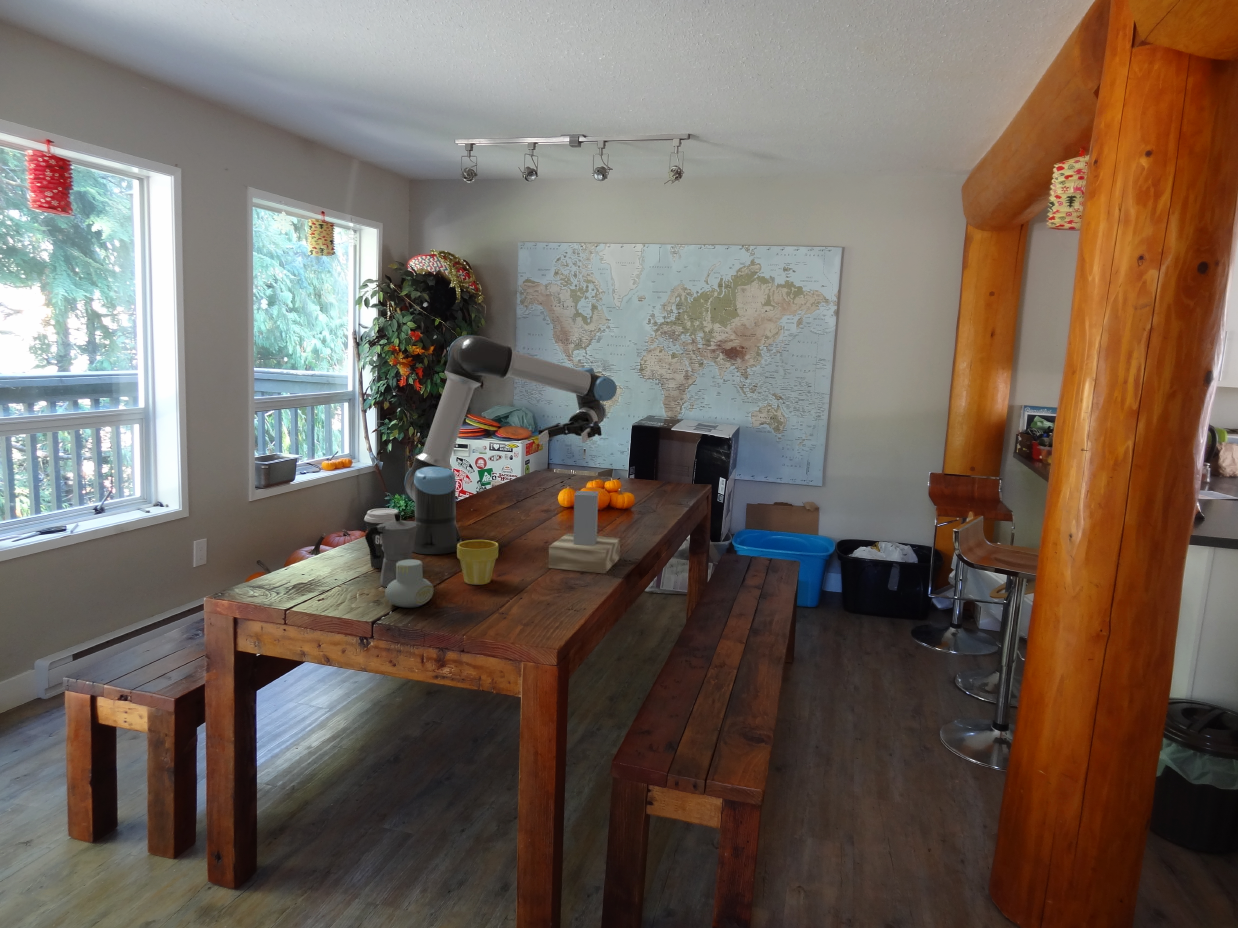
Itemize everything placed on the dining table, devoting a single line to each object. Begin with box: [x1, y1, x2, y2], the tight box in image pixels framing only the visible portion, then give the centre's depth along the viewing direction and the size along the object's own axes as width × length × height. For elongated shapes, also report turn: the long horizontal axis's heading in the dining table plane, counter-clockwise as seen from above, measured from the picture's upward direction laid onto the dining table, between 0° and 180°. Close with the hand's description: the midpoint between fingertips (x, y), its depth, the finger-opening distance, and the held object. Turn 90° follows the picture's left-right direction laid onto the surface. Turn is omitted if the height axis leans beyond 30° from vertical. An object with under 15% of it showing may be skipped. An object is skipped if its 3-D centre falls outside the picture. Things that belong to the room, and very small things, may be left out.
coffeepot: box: [364, 512, 421, 588], centre depth 197 cm, size 15×9×18 cm, turn 137°
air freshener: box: [384, 559, 435, 609], centre depth 183 cm, size 11×8×10 cm
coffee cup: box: [363, 507, 402, 570], centre depth 213 cm, size 10×10×15 cm
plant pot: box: [456, 539, 499, 586], centre depth 202 cm, size 10×10×10 cm
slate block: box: [573, 490, 599, 545], centre depth 220 cm, size 6×6×14 cm
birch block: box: [548, 533, 621, 574], centre depth 221 cm, size 16×16×6 cm
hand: (561, 439), depth 233 cm, fingers open, 13 cm apart
